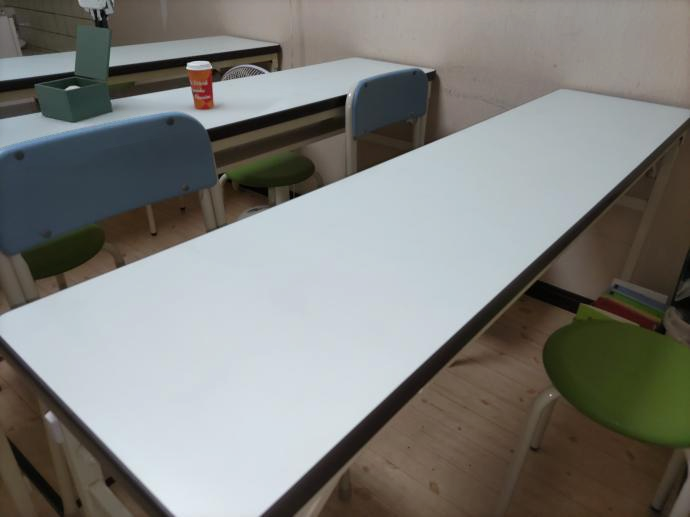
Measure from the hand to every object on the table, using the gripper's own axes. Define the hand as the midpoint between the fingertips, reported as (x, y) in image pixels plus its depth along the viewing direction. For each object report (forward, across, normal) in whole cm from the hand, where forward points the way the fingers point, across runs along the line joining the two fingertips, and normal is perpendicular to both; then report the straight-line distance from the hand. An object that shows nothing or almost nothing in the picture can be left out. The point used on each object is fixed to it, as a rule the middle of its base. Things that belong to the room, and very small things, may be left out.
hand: (103, 34), depth 152 cm
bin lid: (+4, 0, -5) cm, 7 cm away
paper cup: (+21, +27, +11) cm, 36 cm away
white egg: (+20, 0, -15) cm, 25 cm away
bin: (+21, 0, -14) cm, 25 cm away
